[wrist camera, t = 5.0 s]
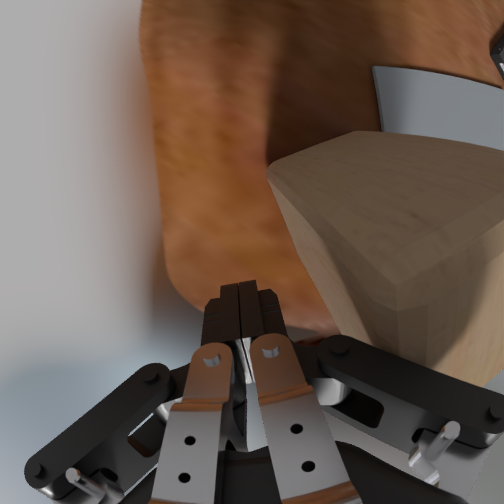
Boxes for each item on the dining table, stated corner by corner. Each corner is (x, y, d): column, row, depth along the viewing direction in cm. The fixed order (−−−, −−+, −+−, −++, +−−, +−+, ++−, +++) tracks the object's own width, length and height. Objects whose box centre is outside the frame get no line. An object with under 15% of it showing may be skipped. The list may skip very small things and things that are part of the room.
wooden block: (299, 260, 27) (395, 448, 9) (260, 165, 23) (386, 290, 5) (386, 221, 26) (535, 342, 8) (360, 127, 22) (569, 163, 4)
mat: (371, 66, 20) (374, 65, 19) (501, 90, 19) (504, 90, 19) (383, 288, 30) (385, 291, 29) (497, 253, 29) (499, 255, 29)
